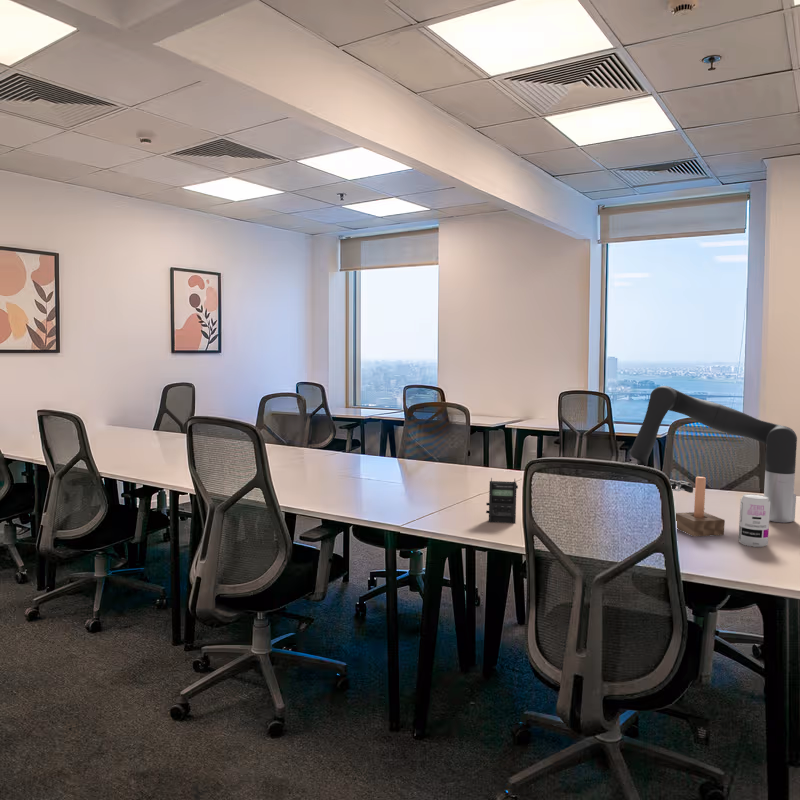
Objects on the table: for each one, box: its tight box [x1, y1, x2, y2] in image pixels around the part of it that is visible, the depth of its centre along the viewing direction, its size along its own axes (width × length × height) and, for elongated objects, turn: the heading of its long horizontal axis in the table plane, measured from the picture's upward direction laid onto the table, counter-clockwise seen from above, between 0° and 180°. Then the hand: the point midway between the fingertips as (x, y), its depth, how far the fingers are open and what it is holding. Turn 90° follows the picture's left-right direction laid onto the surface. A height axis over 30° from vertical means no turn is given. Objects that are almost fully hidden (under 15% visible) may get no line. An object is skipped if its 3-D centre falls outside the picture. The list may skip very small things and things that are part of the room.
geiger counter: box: [485, 477, 519, 524], centre depth 239 cm, size 10×4×15 cm, turn 82°
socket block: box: [675, 511, 726, 537], centre depth 231 cm, size 11×11×5 cm
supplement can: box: [738, 493, 770, 548], centre depth 216 cm, size 8×8×15 cm
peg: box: [693, 476, 707, 518], centre depth 230 cm, size 3×3×18 cm
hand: (680, 490), depth 240 cm, fingers open, 8 cm apart
